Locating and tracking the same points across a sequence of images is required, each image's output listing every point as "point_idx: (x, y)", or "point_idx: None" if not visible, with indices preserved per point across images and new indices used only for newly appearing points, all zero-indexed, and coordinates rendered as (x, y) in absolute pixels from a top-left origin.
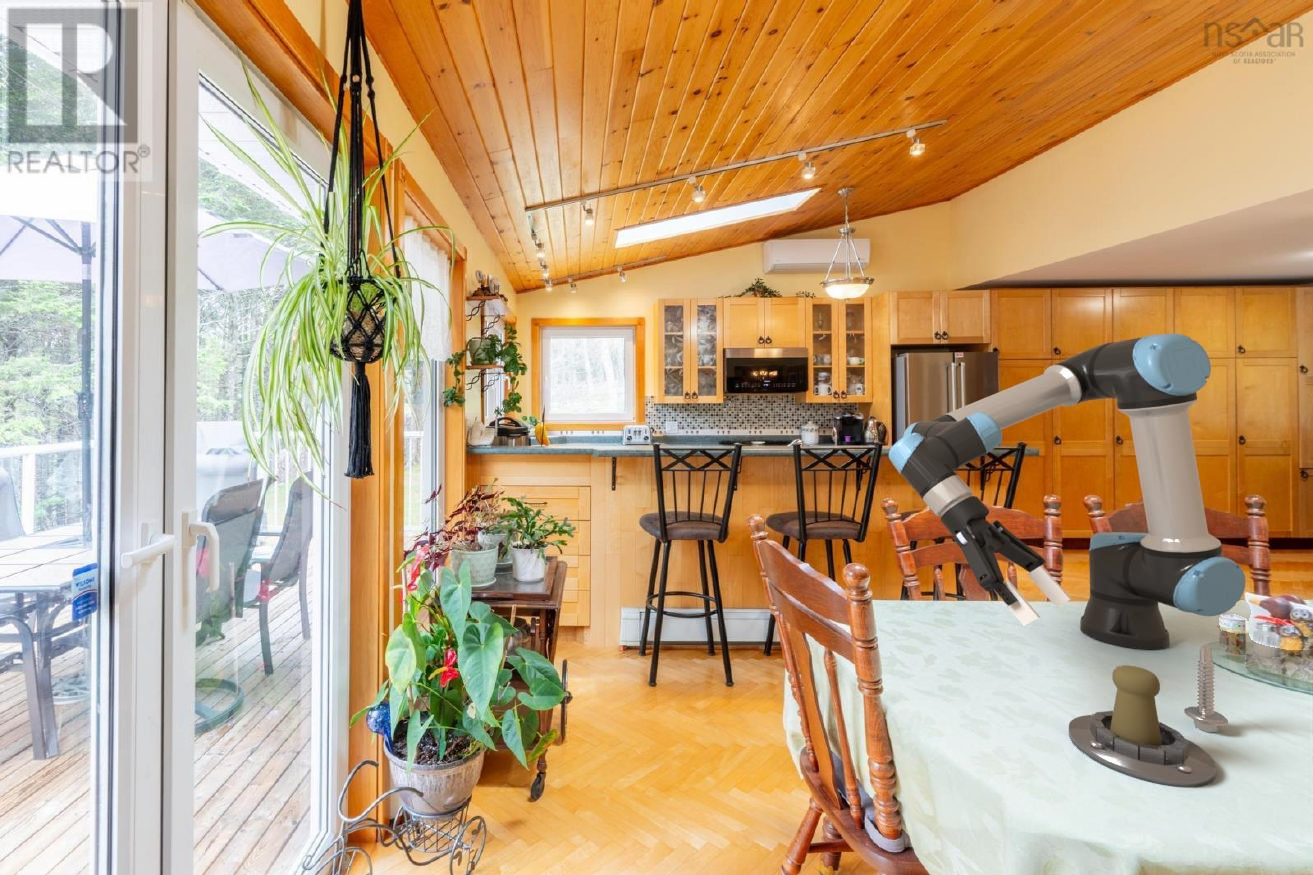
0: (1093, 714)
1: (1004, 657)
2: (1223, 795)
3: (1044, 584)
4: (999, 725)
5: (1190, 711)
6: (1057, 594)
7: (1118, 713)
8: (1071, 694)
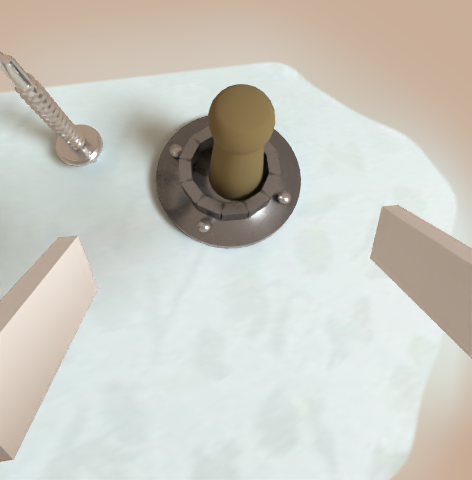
0: (203, 230)
1: (27, 467)
2: None
3: (47, 339)
4: (318, 307)
5: (86, 155)
6: (71, 280)
7: (259, 166)
8: (116, 298)
